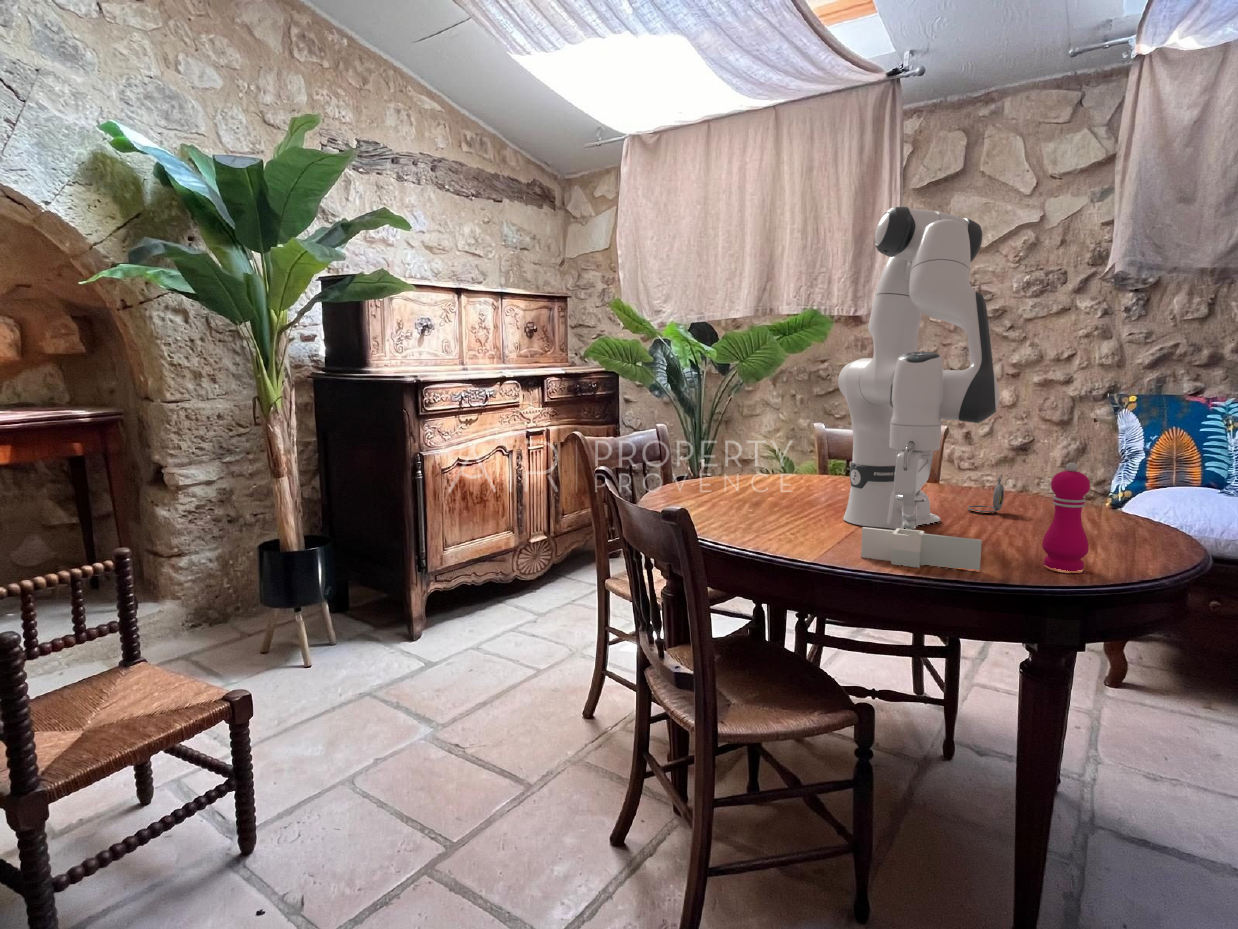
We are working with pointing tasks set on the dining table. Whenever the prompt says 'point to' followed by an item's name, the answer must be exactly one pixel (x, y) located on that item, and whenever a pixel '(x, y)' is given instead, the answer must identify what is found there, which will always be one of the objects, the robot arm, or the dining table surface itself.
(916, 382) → the robot arm
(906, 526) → the hinge pin
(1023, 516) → the dining table surface
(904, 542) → the hinge
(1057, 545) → the pepper mill
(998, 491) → the pocket watch
